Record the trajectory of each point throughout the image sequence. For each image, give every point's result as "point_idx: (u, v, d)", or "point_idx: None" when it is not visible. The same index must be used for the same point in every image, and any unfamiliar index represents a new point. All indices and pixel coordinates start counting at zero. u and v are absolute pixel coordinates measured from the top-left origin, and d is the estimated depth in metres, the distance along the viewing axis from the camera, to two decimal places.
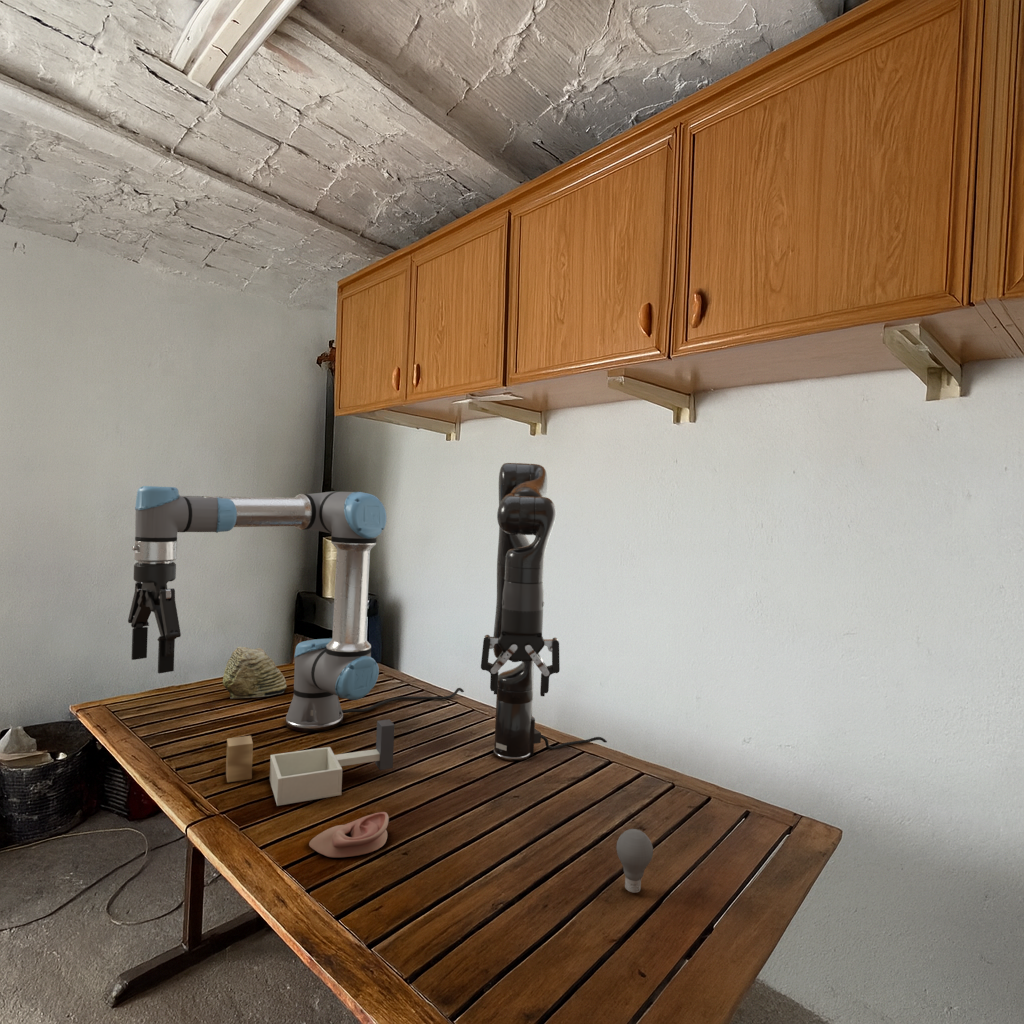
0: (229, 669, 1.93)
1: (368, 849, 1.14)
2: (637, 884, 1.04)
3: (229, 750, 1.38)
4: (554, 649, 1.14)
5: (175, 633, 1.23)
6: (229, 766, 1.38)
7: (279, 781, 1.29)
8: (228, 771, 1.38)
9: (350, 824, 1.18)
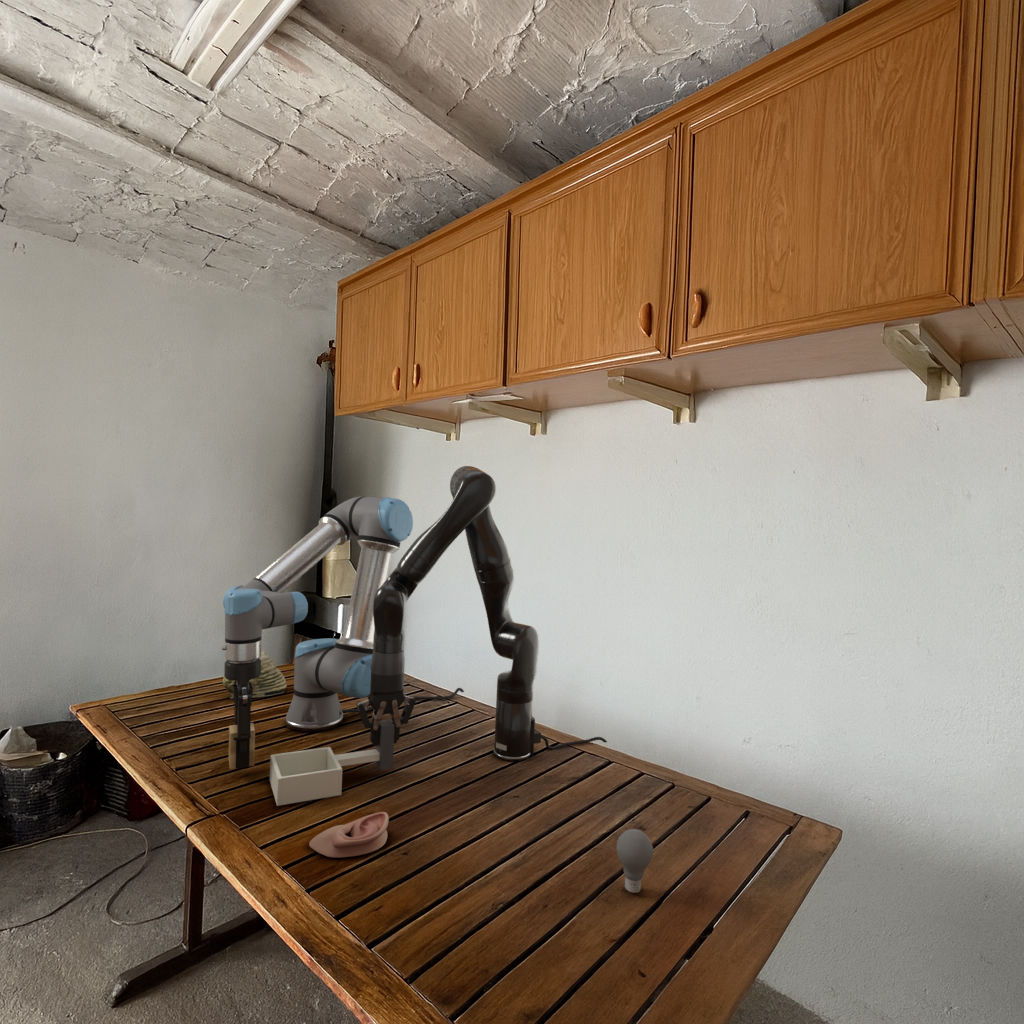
0: None
1: (368, 849, 1.14)
2: (637, 884, 1.04)
3: (231, 737, 1.39)
4: None
5: (245, 735, 1.37)
6: (231, 753, 1.39)
7: (279, 781, 1.29)
8: (231, 758, 1.39)
9: (350, 824, 1.18)
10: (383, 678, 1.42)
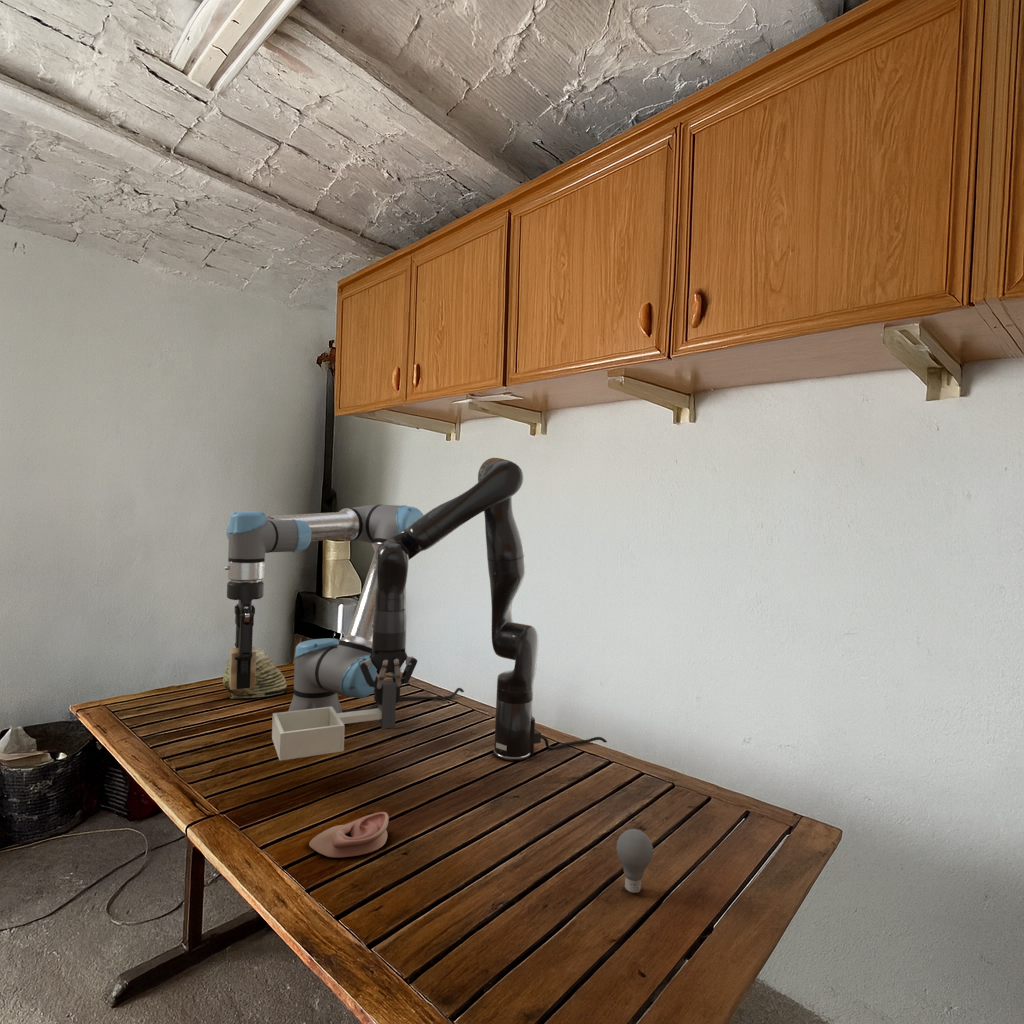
0: None
1: (368, 849, 1.14)
2: (637, 884, 1.04)
3: (232, 657, 1.38)
4: None
5: (247, 654, 1.36)
6: (232, 673, 1.38)
7: (281, 736, 1.29)
8: (231, 678, 1.38)
9: (350, 824, 1.18)
10: (385, 636, 1.42)
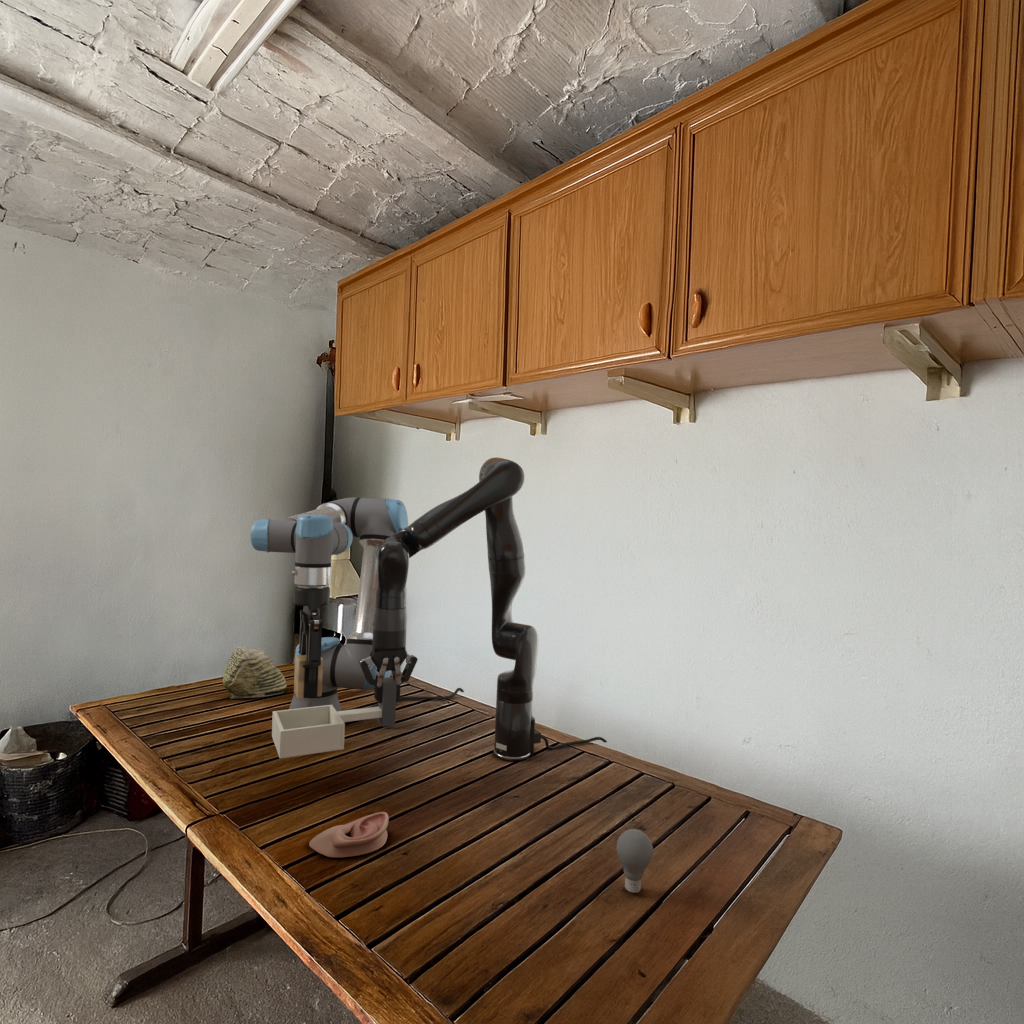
0: (229, 669, 1.93)
1: (368, 849, 1.14)
2: (637, 884, 1.04)
3: (300, 665, 1.34)
4: None
5: (316, 662, 1.32)
6: (299, 681, 1.34)
7: (281, 734, 1.29)
8: (298, 687, 1.34)
9: (350, 824, 1.18)
10: (385, 634, 1.42)
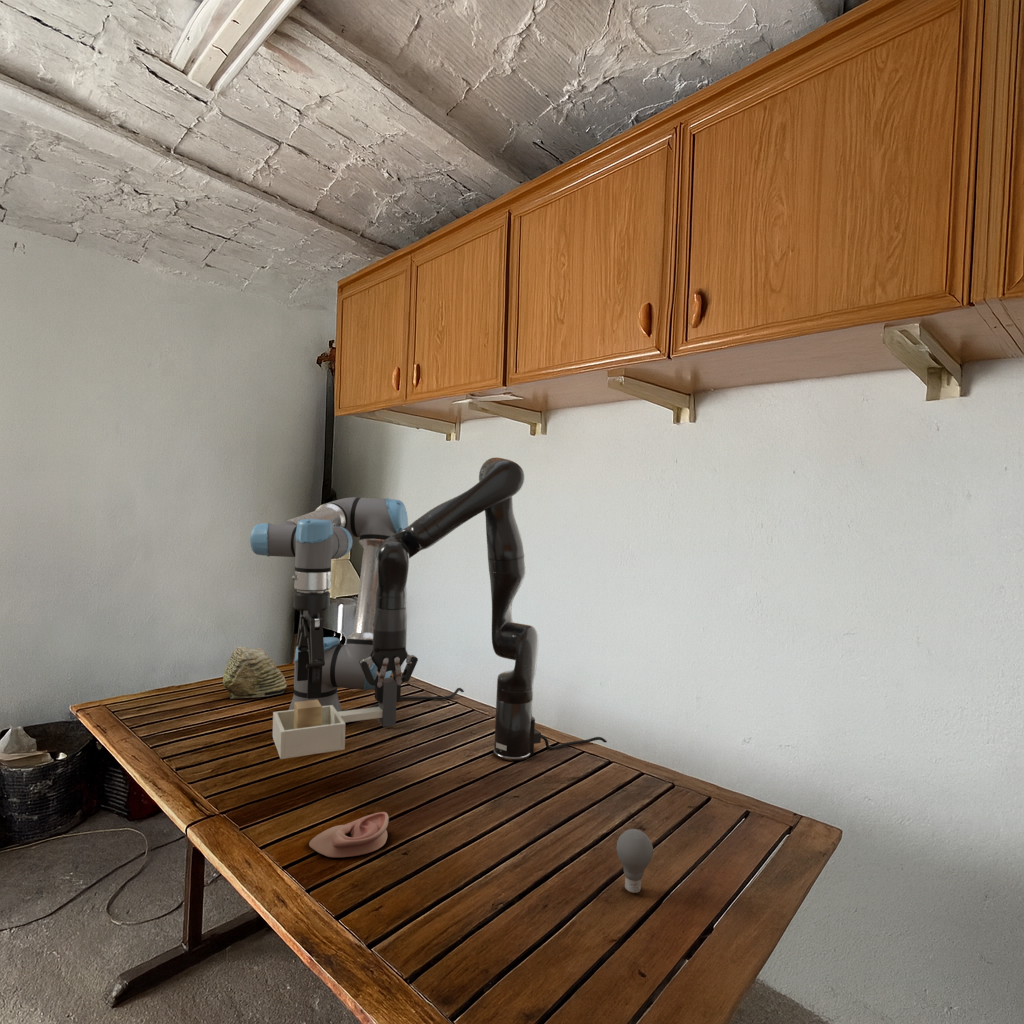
0: (229, 669, 1.93)
1: (368, 849, 1.14)
2: (637, 884, 1.04)
3: (298, 713, 1.34)
4: None
5: (319, 662, 1.29)
6: None
7: (282, 734, 1.29)
8: None
9: (350, 824, 1.18)
10: (385, 634, 1.42)
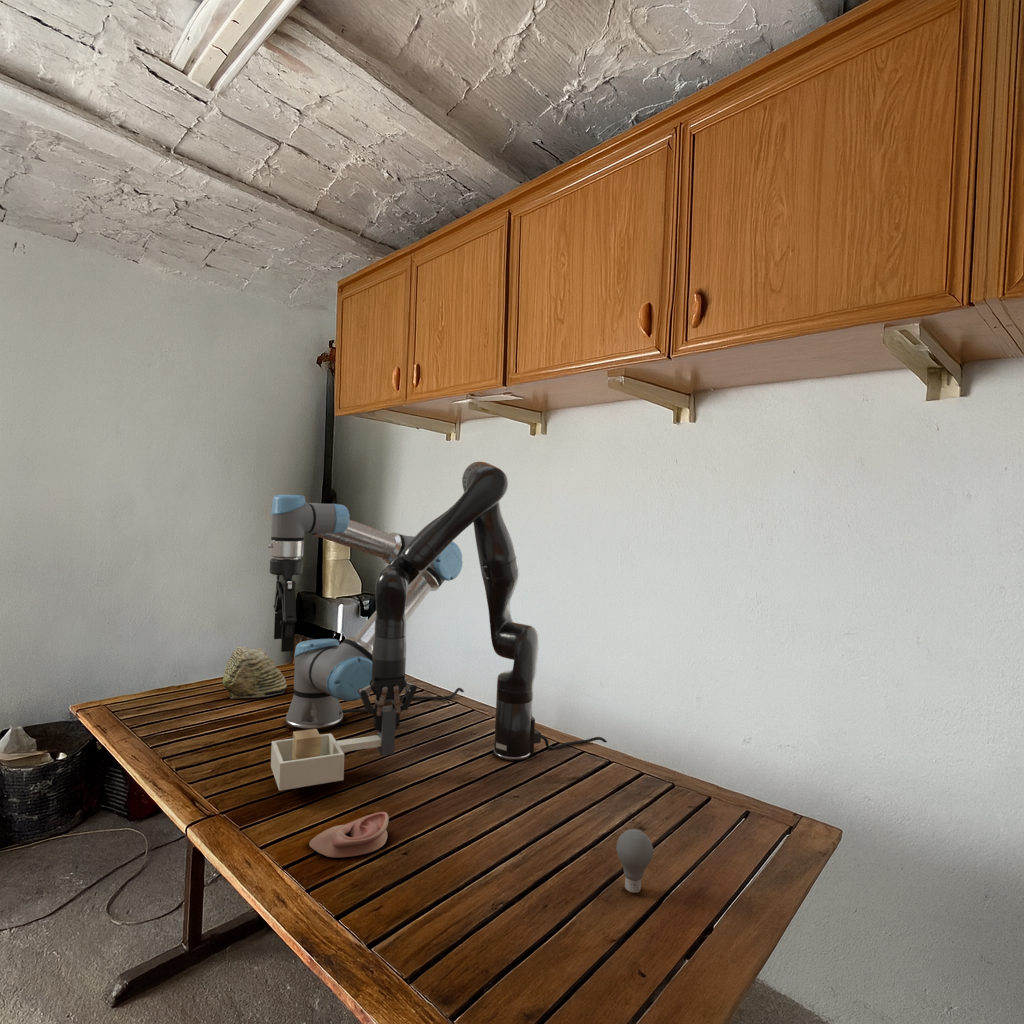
0: (229, 669, 1.93)
1: (368, 849, 1.14)
2: (637, 884, 1.04)
3: (297, 743, 1.34)
4: None
5: (292, 619, 1.46)
6: None
7: (281, 766, 1.29)
8: None
9: (350, 824, 1.18)
10: (385, 663, 1.42)
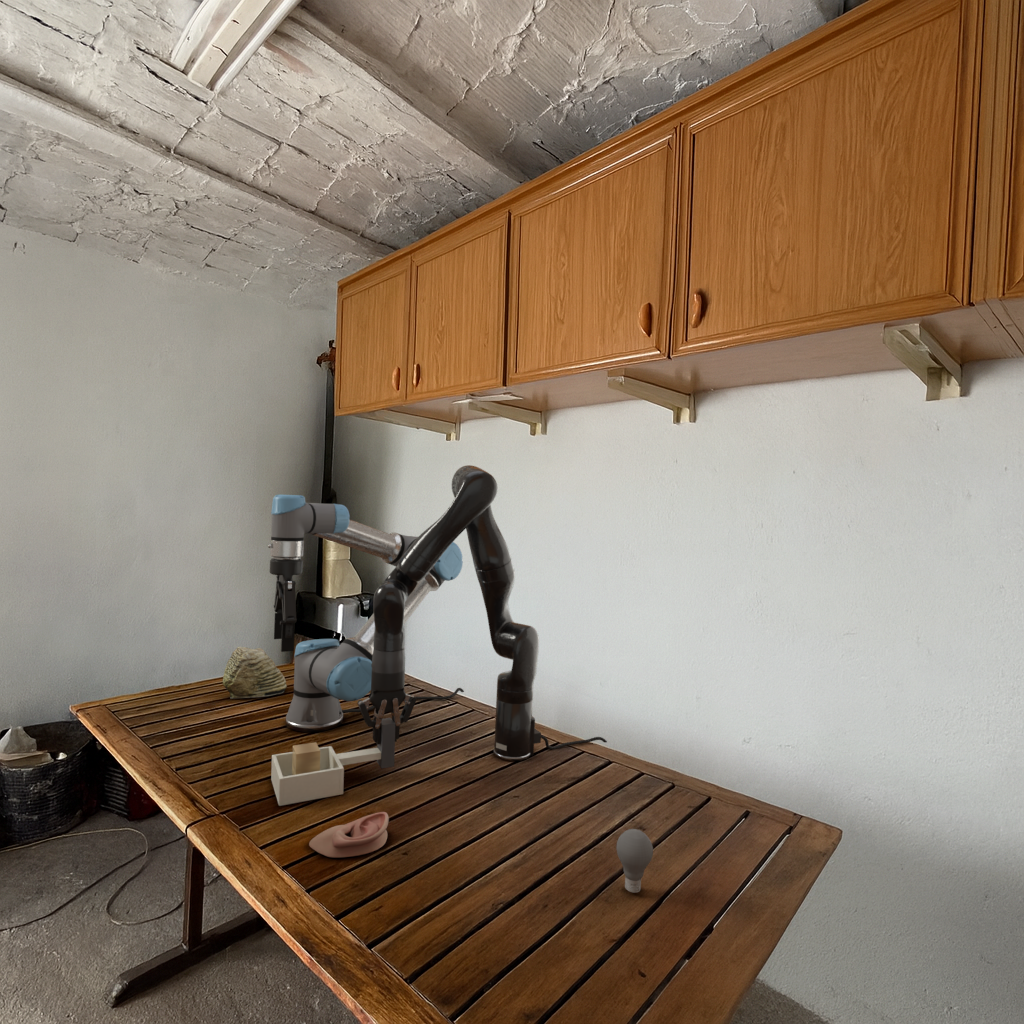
0: (229, 669, 1.93)
1: (368, 849, 1.14)
2: (637, 884, 1.04)
3: (297, 758, 1.34)
4: None
5: (292, 618, 1.46)
6: None
7: (281, 781, 1.29)
8: None
9: (350, 824, 1.18)
10: (384, 676, 1.42)
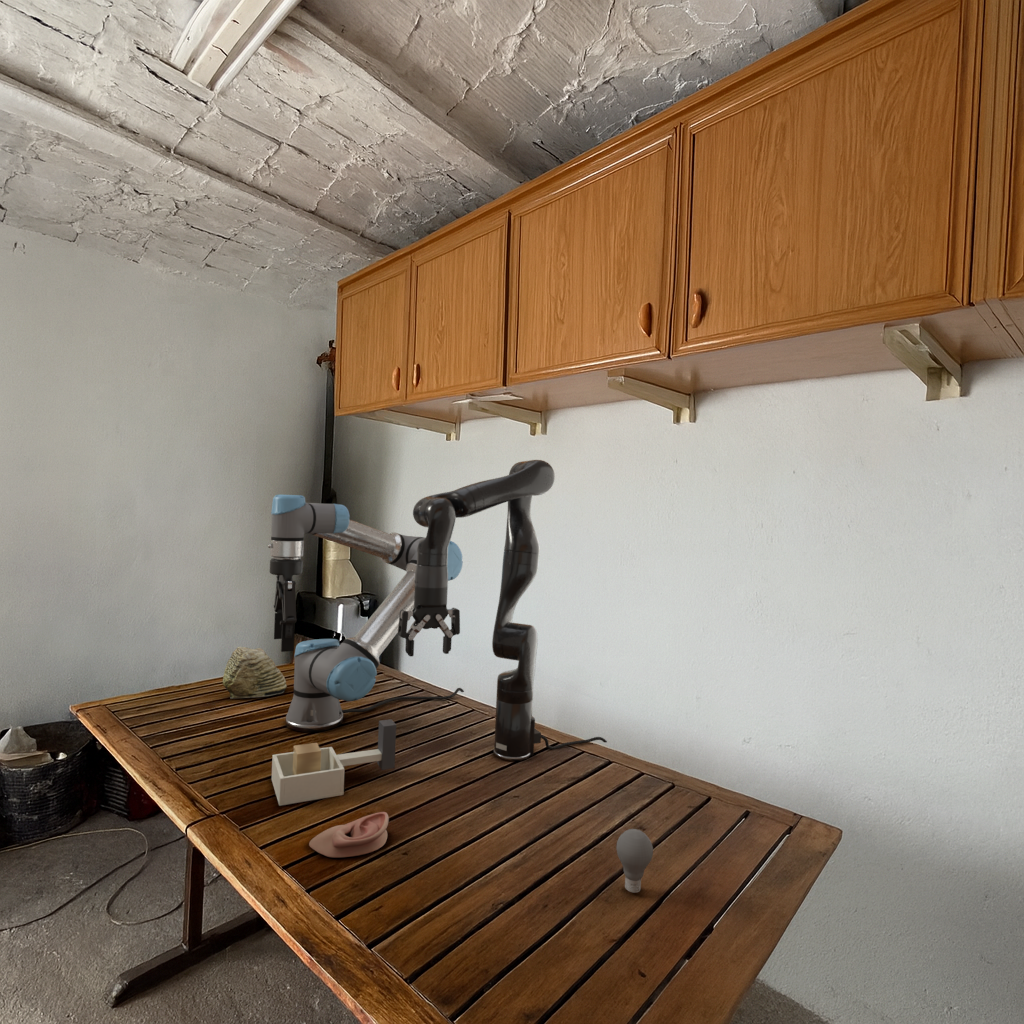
0: (229, 669, 1.93)
1: (368, 849, 1.14)
2: (637, 884, 1.04)
3: (298, 758, 1.34)
4: None
5: (292, 618, 1.46)
6: None
7: (281, 781, 1.29)
8: None
9: (350, 824, 1.18)
10: (428, 591, 1.42)
